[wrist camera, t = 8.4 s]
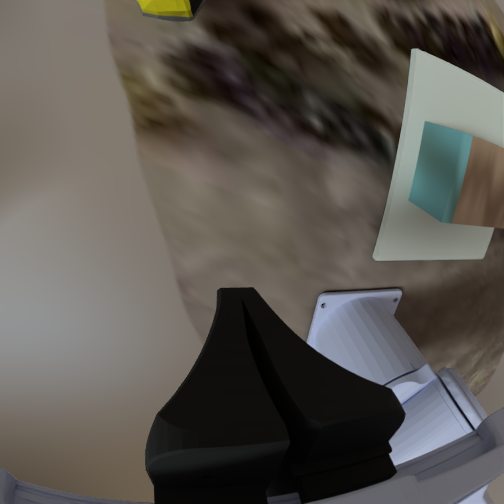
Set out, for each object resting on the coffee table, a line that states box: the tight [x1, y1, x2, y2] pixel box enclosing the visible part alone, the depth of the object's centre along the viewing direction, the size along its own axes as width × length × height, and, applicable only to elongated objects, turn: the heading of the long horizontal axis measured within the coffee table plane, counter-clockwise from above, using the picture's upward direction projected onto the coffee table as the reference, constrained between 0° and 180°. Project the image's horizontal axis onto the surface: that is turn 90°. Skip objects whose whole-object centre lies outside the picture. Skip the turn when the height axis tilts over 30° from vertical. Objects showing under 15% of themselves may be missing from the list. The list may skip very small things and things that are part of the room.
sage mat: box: [372, 49, 504, 261], centre depth 21 cm, size 16×14×1 cm
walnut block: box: [408, 121, 504, 229], centre depth 19 cm, size 6×4×8 cm
